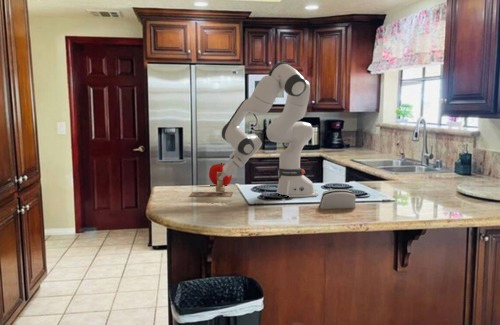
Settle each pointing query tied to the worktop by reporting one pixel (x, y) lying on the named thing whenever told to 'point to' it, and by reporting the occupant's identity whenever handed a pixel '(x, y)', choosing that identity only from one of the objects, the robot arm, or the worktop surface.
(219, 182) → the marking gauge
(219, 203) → the worktop surface
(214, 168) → the tomato
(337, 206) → the grey arched slab
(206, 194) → the walnut board
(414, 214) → the worktop surface
